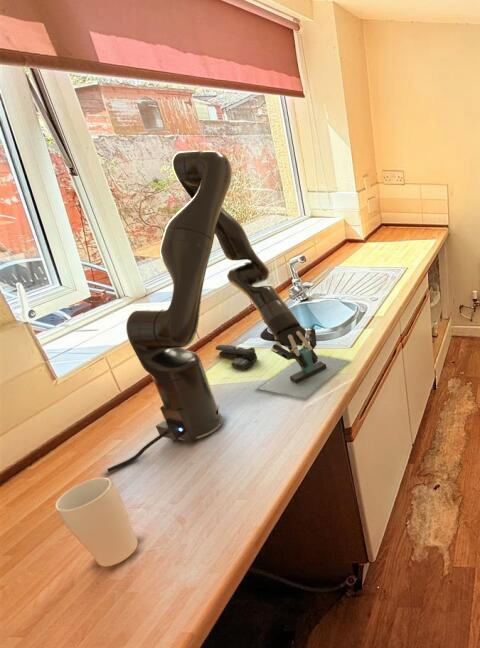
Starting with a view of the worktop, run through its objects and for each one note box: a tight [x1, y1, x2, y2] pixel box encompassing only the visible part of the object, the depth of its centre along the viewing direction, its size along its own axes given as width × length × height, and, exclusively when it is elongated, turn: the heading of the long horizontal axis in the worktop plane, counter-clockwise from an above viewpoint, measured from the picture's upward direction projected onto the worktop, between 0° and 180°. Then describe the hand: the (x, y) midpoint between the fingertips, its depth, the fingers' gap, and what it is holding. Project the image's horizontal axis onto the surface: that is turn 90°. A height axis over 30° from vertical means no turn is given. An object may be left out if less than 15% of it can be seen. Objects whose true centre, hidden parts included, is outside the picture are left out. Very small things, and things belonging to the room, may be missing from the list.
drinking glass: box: [54, 477, 139, 568], centre depth 68 cm, size 7×7×15 cm
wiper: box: [290, 347, 326, 384], centre depth 120 cm, size 10×3×8 cm, turn 148°
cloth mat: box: [258, 355, 349, 399], centre depth 122 cm, size 20×16×1 cm
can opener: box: [214, 344, 258, 370], centre depth 128 cm, size 18×7×6 cm, turn 64°
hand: (311, 364), depth 119 cm, fingers closed on wiper, 2 cm apart
